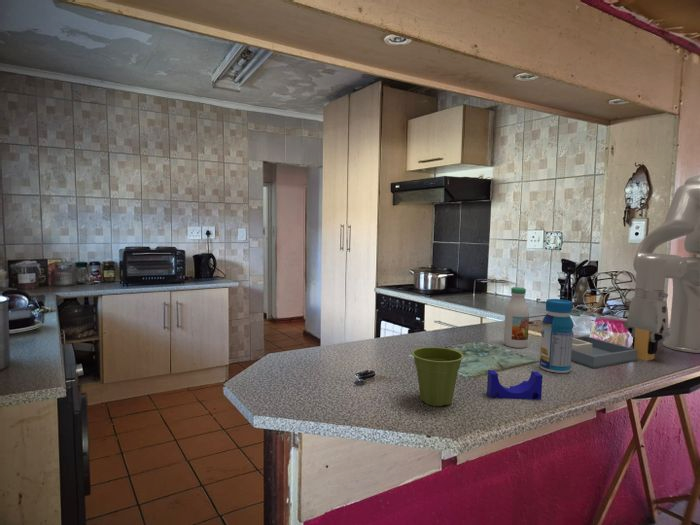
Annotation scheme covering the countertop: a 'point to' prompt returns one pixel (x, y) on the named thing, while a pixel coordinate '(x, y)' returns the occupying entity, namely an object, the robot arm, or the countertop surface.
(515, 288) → the milk bottle
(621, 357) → the walled box
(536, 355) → the countertop surface
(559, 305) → the beverage bottle
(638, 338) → the orange square bottle
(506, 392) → the blue u-shaped cradle
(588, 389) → the countertop surface
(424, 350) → the plant pot
